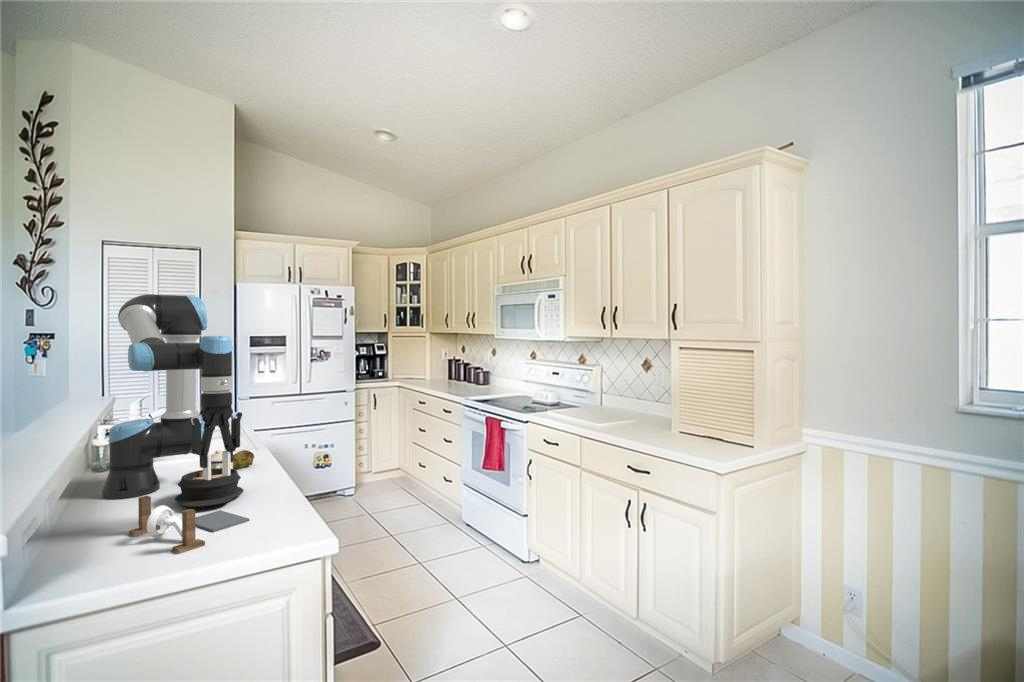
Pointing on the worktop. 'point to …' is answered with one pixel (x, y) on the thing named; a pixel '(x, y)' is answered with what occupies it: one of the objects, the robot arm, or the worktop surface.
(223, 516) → the mat
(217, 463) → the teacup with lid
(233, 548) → the worktop surface
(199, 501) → the casserole
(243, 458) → the potato
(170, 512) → the white vr controller
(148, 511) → the rack
